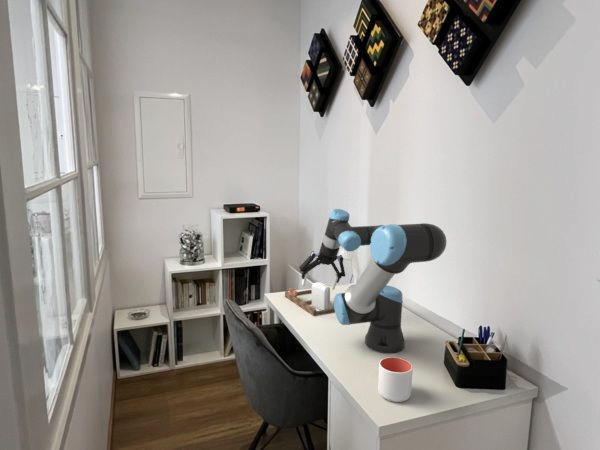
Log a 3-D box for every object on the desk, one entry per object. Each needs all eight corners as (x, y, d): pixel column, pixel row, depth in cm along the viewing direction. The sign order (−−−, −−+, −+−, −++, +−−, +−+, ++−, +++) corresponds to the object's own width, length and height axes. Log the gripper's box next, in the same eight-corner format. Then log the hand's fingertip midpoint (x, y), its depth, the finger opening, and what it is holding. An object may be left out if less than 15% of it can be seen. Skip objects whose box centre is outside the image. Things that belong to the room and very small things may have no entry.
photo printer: (310, 305, 208) (310, 281, 206) (316, 304, 211) (317, 279, 209) (324, 312, 200) (325, 286, 198) (331, 310, 203) (331, 285, 201)
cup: (395, 407, 126) (397, 376, 125) (371, 392, 134) (372, 362, 133) (417, 397, 132) (419, 366, 130) (392, 382, 140) (394, 354, 138)
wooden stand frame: (341, 310, 202) (341, 298, 201) (313, 316, 195) (313, 303, 194) (310, 292, 228) (310, 281, 227) (285, 296, 221) (285, 285, 220)
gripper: (356, 244, 184) (342, 284, 193) (300, 236, 178) (289, 278, 187) (361, 253, 177) (346, 294, 187) (303, 245, 171) (291, 288, 181)
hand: (317, 286), depth 187 cm, fingers open, 13 cm apart
